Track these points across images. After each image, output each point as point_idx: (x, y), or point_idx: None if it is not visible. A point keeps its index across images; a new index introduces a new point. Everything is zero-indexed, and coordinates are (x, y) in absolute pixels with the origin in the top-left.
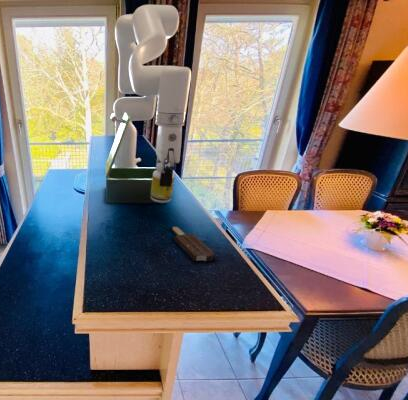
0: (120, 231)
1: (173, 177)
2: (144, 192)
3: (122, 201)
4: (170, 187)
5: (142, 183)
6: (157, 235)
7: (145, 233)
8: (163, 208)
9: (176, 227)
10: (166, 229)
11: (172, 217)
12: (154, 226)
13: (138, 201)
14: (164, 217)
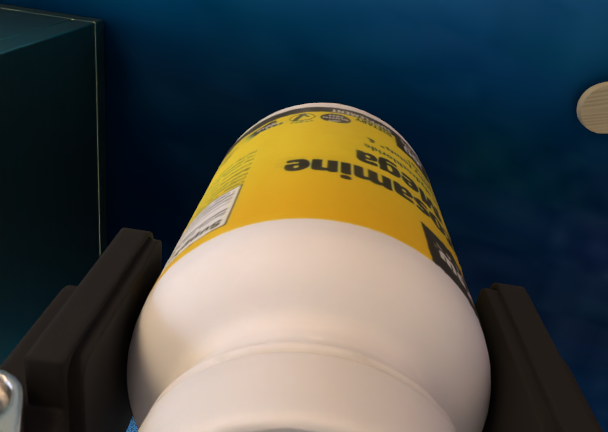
0: None
1: (444, 275)
2: (60, 233)
3: None
4: (447, 234)
5: (12, 308)
6: (599, 240)
7: (549, 302)
8: (204, 51)
9: (599, 97)
10: (545, 153)
11: (376, 33)
12: (480, 221)
13: (100, 234)
14: (364, 102)
